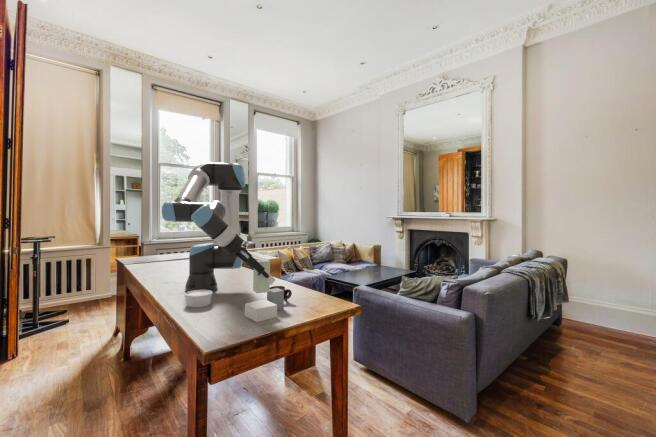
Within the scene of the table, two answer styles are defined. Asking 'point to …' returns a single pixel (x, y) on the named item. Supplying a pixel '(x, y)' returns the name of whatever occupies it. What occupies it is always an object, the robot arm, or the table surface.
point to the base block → (260, 310)
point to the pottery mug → (284, 291)
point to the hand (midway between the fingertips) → (270, 280)
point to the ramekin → (198, 298)
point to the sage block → (261, 278)
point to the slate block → (276, 297)
